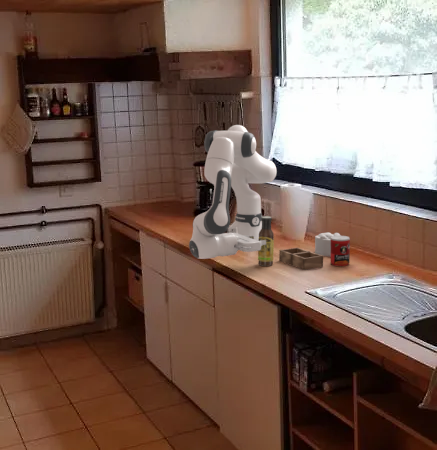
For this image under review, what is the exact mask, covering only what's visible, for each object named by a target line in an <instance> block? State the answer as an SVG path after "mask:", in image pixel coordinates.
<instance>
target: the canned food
mask: <svg viewBox="0 0 437 450" xmlns="http://www.w3.org/2000/svg"><path fill="white" fill-rule="evenodd" d="M350 245H351V239H350V236H348V235H347V236H346V235H341V236H332V237H331V256H330V264H331V265H332V266H335V267H346V266H349V264H350V258H351V257H350V254H351V253H350V252H351V251H350V250H351V249H350V248H351V246H350Z"/></svg>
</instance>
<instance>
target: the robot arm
mask: <svg viewBox="0 0 437 450" xmlns="http://www.w3.org/2000/svg"><path fill="white" fill-rule="evenodd" d="M203 145H204V147H203V148H204V149H205V150H204V151H205V152H206V153H207V154H206V159H205V162H204V163H205V164H204V170H203V171H204V172H203V173H204V177H205V179H206V180H207V181H208V182H209V183H210V184H212V185H213V186H214V187H213V188H214V190H213V197H212V204H211V206H210V207H209V209H208V210H207V211H205V212H202V213H200V214H198V215H196V216H195V218H194V219H193V221H192V234H191V235H192V236H191V238H190V240H189V242H188V247H189V251H190V253H191V255H192V256H193V257H194V258H196V259H199V260H200V259H202V260H205V259H215V258H218V257H228V256H235V255H236V254H237V252H238V251H241V252H245V253H250V252H258V251H259V250H261V246H262V245H266V240H260V241H258V239H259V232H260V230H261V229H262V220H261V219H262V217H263V213H262V198H261V195H260V194H259V193H258V192H256V191H255V190H253V189H251V188H250V185H249V184H268V183H272V182H273V181H274V179H275V178H276V177H277V172H278V171H277V167H276V164H275V163H274V162H273V161H272V160H269V159H267V158H265V157H263V156H262V155H260V154H259V153H258V151H256V149H257V141H256V136H255V135H254V134H253V133H252V132H249V131H248V129H247V128H246V127H244V126H243V125H241V124H235V125H234V124H233V125H231V126H230V127H228V129H227V130H218V129H217V130H210V131H208V132H207V133H206V135H205V137H204V143H203ZM231 190H233V193H234V195H235V199H236V211H237V212H236V213H234V216H235V218H234V222H232V223H231V216H230V210H229V208H230V206H229V205H230V199H231Z"/></svg>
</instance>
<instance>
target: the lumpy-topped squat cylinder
mask: <svg viewBox="0 0 437 450" xmlns="http://www.w3.org/2000/svg"><path fill="white" fill-rule="evenodd" d="M332 236H342V235H341V234H340V233H339V232H334V233H331V232H328V231H327V232H322V233H319V234H318V235H315V236H314V253H316V254H319V255H322V256H323V257H331V237H332Z"/></svg>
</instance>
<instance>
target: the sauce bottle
mask: <svg viewBox="0 0 437 450" xmlns="http://www.w3.org/2000/svg"><path fill="white" fill-rule="evenodd" d="M261 220H262V229H261V230H260V232H259V239H258V241H260V240H266V245H262V246H261V250H259V251H257V260H258V261H257V263H258V265H259V266H261V267H270V266H273V265H274V252H275V251H274V246H275V245H274V243H275V239H274V237H275V236H274V235H275V234H274V231H273V230H272V216H269V215H268V216H267V215H265V216H262V219H261Z"/></svg>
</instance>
